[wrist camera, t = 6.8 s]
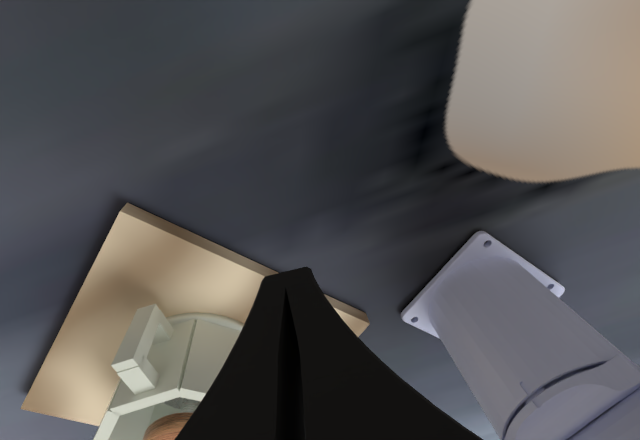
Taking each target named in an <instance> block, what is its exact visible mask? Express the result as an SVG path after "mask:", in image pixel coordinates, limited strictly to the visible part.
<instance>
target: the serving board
mask: <svg viewBox="0 0 640 440" xmlns="http://www.w3.org/2000/svg"><path fill="white" fill-rule="evenodd" d="M273 274H278V272H276V271H274V270H272V269H269V268H267V267H265V266H263V265H261V264H259V263H256V262H254V261H252V260H250V259H248V258H246V257H244V256H241V255H239V254H237V253H235V252H233V251H231V250H228V249H226V248H224V247H222V246H220V245H218V244H216V243H213V242H211V241H209V240H207V239H205V238H203V237H200V236H198V235H196V234H194V233H192V232H190V231H188V230H185V229H183V228H181V227H179V226H177V225H175V224H172V223H170V222H168V221H166V220H164V219H162V218H160V217H157V216H155V215H153V214H151V213H149V212H147V211H144V210H142V209H140V208H138V207H136V206H134V205H132V204H129V203H126V205H125V206H124V207H123V208H122V209H121V210H120V212H119V214H118V216H117V218H116V220H115V222H114V224H113V226H112V228H111V230H110V232H109V234H108V236H107V238H106V240H105V242H104V244H103V246H102V248H101V250H100V252H99V254H98V256H97V258H96V260H95V262H94V264H93V266H92V268H91V270H90V272H89V274H88V276H87V278H86V280H85V282H84V284H83V286H82V287H81V289H80V291H79V293H78V295H77V297H76V299H75V301H74V303H73V305H72V307H71V309H70V311H69V313H68V315H67V317H66V319H65V321H64V323H63V325H62V327H61V329H60V331H59V333H58V335H57V337H56V339H55V341H54V343H53V345H52V347H51V349H50V351H49V353H48V355H47V357H46V359H45V361H44V363H43V365H42V367H41V369H40V371H39V373H38V375H37V377H36V379H35V381H34V383H33V385H32V387H31V389H30V391H29V393H28V395H27V397H26V399H25V401H24V403H23V405H22V407H21V409H23V410H28V411H32V412H37V413H42V414H46V415H51V416H55V417H60V418H64V419H69V420H73V421H78V422H82V423H87V424H91V425H96V426H99V425H100V423H101V420H102V418H103V416H104V413H105V411H106V409H107V406H108V404H109V402H110V399H111V397H112V395H113V392H114V390H115V388H116V385H117V383H118V381H119V378H120V377H119V376H118V374H117V372H116V371H115V369H114V368H113V367H112V366H111V364H112V362H113V360H114V358H115V356H116V353H117V351H118V349H119V347H120V345H121V343H122V341H123V339H124V337H125V334H126V332H127V330H128V328H129V326H130V324H131V322H132V320H133V317H134V315H135V313H136V311H137V309H139V308H142V307H146V306H149V305H152V304H155V303H156V305H157V306H158V308H159V309H160V310H161V311H162V313H163V314H164V316H165V317H169V316H173V315H177V314H183V313H196V312H199V313H212V314H218V315H222V316H226V317H229V318H232V319H235V320H237V321H239V322H241V323H243V324H245V321H246V319H247V317H248V315H249V313H250V310H251V308H252V306H253V303H254V301H255V298H256V296H257V293H258V290H259V287H260V285H261V282H262V280H263V278H264V277H265V276H269V275H273ZM324 295H325V294H324ZM325 297H326V298H327V300H328V301H329V302H330V304H331V305H332V306H333V308H334V309H335V310H336V312H337V313H338V314H339V316H340V317H341V318H342V319H343V321H344V322H345V323H346V324H347V325H348V326H349V328H350V329H351V330H352V331H353V332H354V333H355V334H356V336H357V337H358V336H359V335H360V334H361V333H362V332H363V331H364V330H365V329H366V328H367V327H368V325H369V324H370V323H369V320H368V318H367V315H366V313H364V312H362V311H360V310H358V309H356V308H353V307H351V306H349V305H347V304H345V303H343V302H340V301H338V300H336V299H334V298H332V297H330V296H328V295H325Z"/></svg>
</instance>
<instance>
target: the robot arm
mask: <svg viewBox="0 0 640 440" xmlns="http://www.w3.org/2000/svg"><path fill="white" fill-rule="evenodd" d="M487 240H488V241H487ZM486 241H487V243H485V242H486ZM484 243H485V244H484ZM564 290H565V288H564V287H563V286H562V285H561V284H559V283H558V282H557V281H555V280H554V279H552V278H551V277H549V276H548V275H547V274H545V273H544V272H542V271H541V270H539V269H538V268H537V267H535V266H534V265H532V264H531V263H529V262H528V261H526V260H525V259H524V258H522V257H521V256H519V255H518V254H516V253H515V252H514V251H512V250H511V249H509V248H508V247H506V246H505V245H504V244H502V243H501V242H499V241H498V240H496V239H495V238H494V237H492V236H491V235H489V234H488V233H486V232H485V231H478V232H476V233H475V234H474V235H473V236H472V237H471V238H470V239H469V240H468V241H467V242H466V244H465V245H464V246H463V247H462V248H461V249H460V250H459V251H458V252H457V253H456V254H455V255H454V256H453V257H452V259H451V260H450V261H449V262H448V263H447V264H446V265H445V266H444V267H443V268H442V269H441V270H440V271H439V272H438V274H437V275H436V276H435V277H434V278H433V279H432V280H431V281H430V282H429V283H428V284H427V285H426V286H425V287H424V289H423V290H422V291H421V292H420V293H419V294H418V295H417V296H416V297H415V298H414V299H413V300H412V301H411V302H410V304H409V305H408V306H407V307H406V308H405V309H404V310H403V311H402V313H401V318H402V320H403V321H404V322H406V323H408V324H410V325H412V326H414V327H417V328H419V329H421V330H423V331H425V332H427V333H429V334H431V335H433V336H435V337H437V338H440V339H441V341H442V343H443V344H444V346H445V348H446V349H447V351H448V353H449V354H450V356H451V358H452V359H453V361H454V363H455V364H456V366H457V368H458V369H459V371H460V373H461V374H462V376H463V378H464V379H465V381H466V383H467V384H468V386H469V388H470V389H471V391H472V393H473V394H474V396H475V398H476V399H477V401H478V403H479V404H480V406H481V408H482V410H483V411H484V413H485V415H486V416H487V418H488V420H489V421H490V423H491V425H492V426H493V428H494V430H495V431H496V433H497V435H498V436H499V438H500V440H640V366H638V365H637V364H635V363H634V362H632V361H631V360H630V359H629V358H628V357H626V356H625V355H624V354H623V353H622V352H621V351H619V350H618V349H617V348H616V347H615V346H614V345H613V344H611V343H610V342H609V341H608V340H607V339H606V338H604V337H603V336H602V335H601V334H600V333H599V332H597V331H596V330H595V329H594V328H593V327H592V326H591V325H589V324H588V323H587V322H586V321H585V320H584V319H582V318H581V317H580V316H579V315H578V314H577V313H575V312H574V311H573V310H572V309H571V308H570V307H569V306H567V305H566V304H565V303H564V302H563V301H562V300H560V299H559V297H560V296H561V295H562V294H563V293H564ZM413 317H415V318H413ZM412 318H413V319H412ZM174 440H483V439H481V438H480V437H479V436H477V435H476V434H474V433H473V432H471V431H470V430H468V429H467V428H465V427H464V426H462V425H461V424H460V423H458V422H457V421H456V420H454V419H453V418H451V417H450V416H449V415H447V414H446V413H445V412H443V411H442V410H440V409H439V408H438V407H436V406H435V405H434V404H432V403H431V402H430V401H429V400H427V399H426V398H425V397H424V396H422V395H421V394H420V393H419V392H417V391H416V390H415V389H414V388H413V387H411V386H410V385H409V384H408V383H406V382H405V381H404V380H403V379H401V378H400V377H399V376H398V375H397V374H396V373H394V372H393V371H392V370H391V369H390V368H389V367H388V366H387V365H386V364H384V363H383V362H382V361H381V360H380V359H379V358H378V357H377V356H376V355H375V354H374V353H373V352H372V351H371V350H370V349H369V348H368V347H367V346H366V345H365V344H364V343H363V342H362V341H361V340H360V339H359V338H358V337H357V336H356V334H355V333H354V332H353V331H352V330H351V329H350V328H349V326H348V325H347V324H346V323H345V322H344V321H343V319H342V318H341V317H340V316H339V314H338V313H337V312H336V310H335V309H334V308H333V306H332V305H331V304H330V302H329V301H328V300H327V298H326V297H325V295H324V294H323V292H322V291H321V289H320V287H319V286H318V284H317V282H316V280H315V278H314V276H313V273H312V270H311V269H310V268H308V267H303V268H299V269H295V270H291V271H286V272H282V273H278V274H273V275H269V276H265V277H264V278H263V280H262V282H261V285H260V287H259V290H258V293H257V296H256V298H255V301H254V303H253V306H252V308H251V310H250V313H249V315H248V317H247V319H246V321H245V324H244V326H243V328H242V330H241V332H240V334H239V336H238V338H237V340H236V342H235V344H234V346H233V348H232V350H231V352H230V354H229V355H228V357H227V359H226V361H225V363H224V365H223V367H222V368H221V370H220V372H219V373H218V375H217V377H216V379H215V380H214V382H213V383H212V385H211V387H210V388H209V390H208V391H207V393H206V394H205V396H204V398H203V399H202V401H201V402H200V404H199V405H198V407H197V408H196V410H195V411H194V412H193V414H192V415H191V417H190V418H189V420H188V421H187V422H186V424H185V425H184V427H183V428H182V430H181V431H180V432H179V434H178V435H177V437H176V438H175V439H174Z"/></svg>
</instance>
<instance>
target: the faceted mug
mask: <svg viewBox="0 0 640 440" xmlns="http://www.w3.org/2000/svg"><path fill="white" fill-rule="evenodd" d="M243 326H244V324H243V323H241V322H239V321H237V320H235V319H232V318H229V317H226V316H222V315H218V314H212V313H199V312H196V313H183V314H177V315H173V316H169V317H165V316H164V314H163V313H162V311H161V310H160V309H159V308H158V306H157V305H156V303H155V304H152V305H149V306H146V307H142V308H139V309H137V311H136V313H135V315H134V317H133V320H132V322H131V324H130V326H129V328H128V330H127V332H126V334H125V337H124V339H123V341H122V343H121V345H120V347H119V349H118V351H117V353H116V356H115V358H114V360H113V362H112V364H111V366H112V367H113V368H114V369H115V371H116V372H117V374H118V376H119V377H120V378H119V381H118V383H117V385H116V388H115V390H114V392H113V395H112V397H111V399H110V402H109V404H108V406H107V409H106V411H105V413H104V416H103V418H102V420H101V423H100V425H99V427H98V430H97V432H96V434H95V437H94V439H93V440H143V437H144V434H145V431H146V429H147V428H148V427H149V426H150V425H151V424H152V423H153V422H154V421H156V420H158V419H160V418H162V417H164V416H167V415H171V414H175V413H181V409H177V408H173V407H171V406H168V405H166V404H164V403H162V402H165V401H168V400H171V399H175V398H178V397H182V398H187V399H192V400H197V401H202V399H203V398H204V396H205V394H206V393H207V391H208V390H209V388H210V387H211V385H212V383H213V382H214V380H215V379H216V377H217V375H218V373H219V372H220V370H221V368H222V367H223V365H224V363H225V361H226V359H227V357H228V355H229V354H230V352H231V350H232V348H233V346H234V344H235V342H236V340H237V338H238V336H239V334H240V332H241V330H242V328H243Z"/></svg>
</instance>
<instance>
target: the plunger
mask: <svg viewBox="0 0 640 440" xmlns="http://www.w3.org/2000/svg"><path fill="white" fill-rule="evenodd" d="M200 402H201V401H197V400H192V399H187V398H182V397H178V398H175V399H171V400H168V401H165V402H162V403H164V404H166V405H168V406H171V407H173V408H177V409H181V413H175V414H171V415H167V416H164V417H162V418H160V419H158V420H156V421H154V422H153V423H152V424H151V425H150V426H149V427H148V428H147V429H146V431H145V434H144V437H143V440H174V439H175V438H176V437H177V435H178V434H179V432H180V431H181V430H182V428H183V427H184V425H185V424H186V422H187V421H188V420H189V418H190V417H191V415H192V414H193V412H194V411H195V410H196V408H197V407H198V405H199V404H200Z"/></svg>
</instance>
